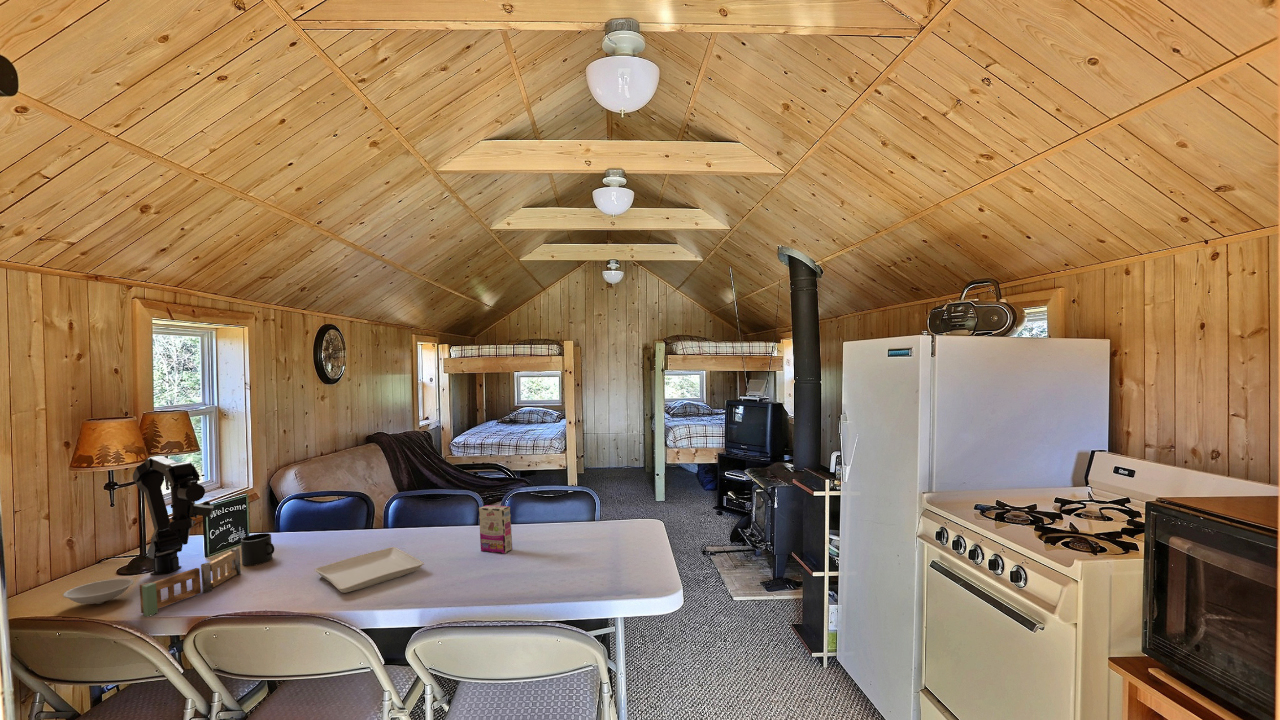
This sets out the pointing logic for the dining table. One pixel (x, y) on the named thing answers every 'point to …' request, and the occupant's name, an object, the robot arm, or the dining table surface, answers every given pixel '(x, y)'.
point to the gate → (170, 583)
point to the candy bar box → (495, 529)
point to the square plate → (369, 569)
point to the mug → (256, 549)
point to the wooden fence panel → (232, 569)
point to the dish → (98, 591)
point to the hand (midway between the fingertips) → (185, 544)
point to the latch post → (149, 599)
